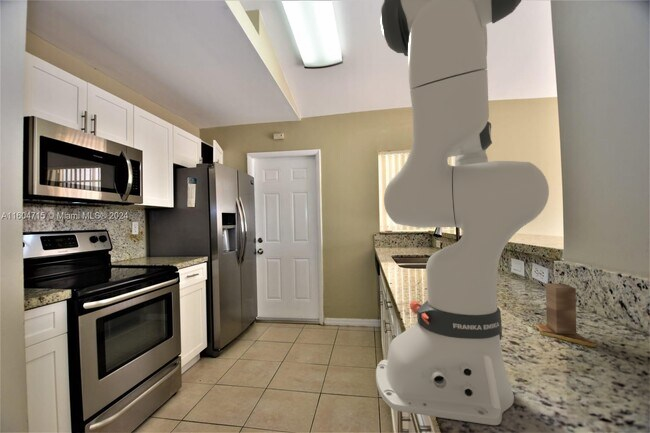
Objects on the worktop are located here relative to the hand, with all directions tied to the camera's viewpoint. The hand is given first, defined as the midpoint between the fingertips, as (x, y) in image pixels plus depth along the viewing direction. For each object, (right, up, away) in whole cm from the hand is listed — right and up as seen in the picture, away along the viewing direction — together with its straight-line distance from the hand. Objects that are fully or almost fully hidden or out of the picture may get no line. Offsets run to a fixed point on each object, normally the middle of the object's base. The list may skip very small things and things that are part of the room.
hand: (473, 214), depth 82 cm
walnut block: (+12, -29, -17) cm, 35 cm away
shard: (+13, -31, -17) cm, 37 cm away
